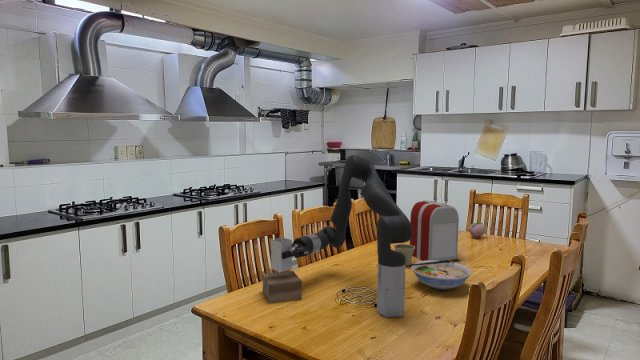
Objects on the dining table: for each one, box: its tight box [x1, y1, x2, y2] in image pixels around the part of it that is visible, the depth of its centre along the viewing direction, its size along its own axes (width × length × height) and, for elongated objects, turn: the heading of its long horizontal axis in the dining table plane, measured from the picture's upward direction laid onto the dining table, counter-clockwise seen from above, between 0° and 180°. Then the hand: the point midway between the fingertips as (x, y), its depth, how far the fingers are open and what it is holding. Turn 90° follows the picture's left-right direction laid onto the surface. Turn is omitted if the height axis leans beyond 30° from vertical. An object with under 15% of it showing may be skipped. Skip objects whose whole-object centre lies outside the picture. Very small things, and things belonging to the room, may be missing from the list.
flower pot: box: [393, 243, 415, 267], centre depth 202 cm, size 9×9×9 cm
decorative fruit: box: [468, 220, 486, 239], centre depth 253 cm, size 9×8×10 cm
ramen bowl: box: [405, 258, 472, 291], centre depth 175 cm, size 25×23×8 cm
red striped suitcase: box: [409, 199, 460, 261], centre depth 214 cm, size 16×18×27 cm
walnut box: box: [262, 270, 303, 304], centre depth 165 cm, size 12×12×7 cm
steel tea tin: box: [270, 236, 293, 272], centre depth 164 cm, size 5×5×11 cm
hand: (276, 254), depth 162 cm, fingers closed on steel tea tin, 5 cm apart
